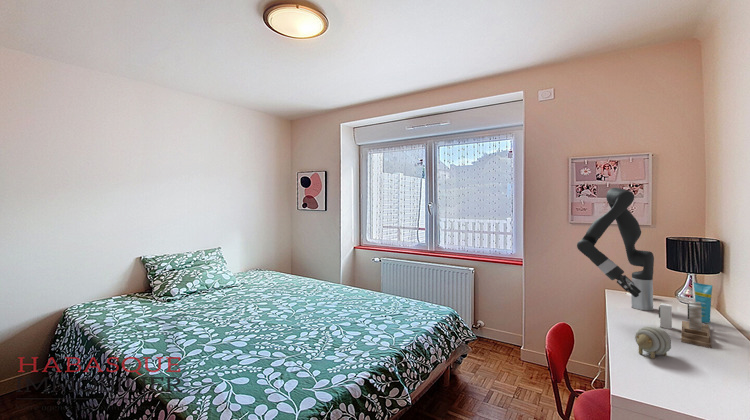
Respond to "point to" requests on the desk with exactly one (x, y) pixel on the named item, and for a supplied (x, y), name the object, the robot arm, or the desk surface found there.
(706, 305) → the tube
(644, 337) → the toy sheep
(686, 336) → the rail
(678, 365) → the desk surface
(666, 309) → the grey finger
